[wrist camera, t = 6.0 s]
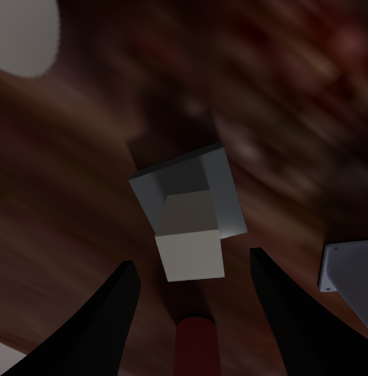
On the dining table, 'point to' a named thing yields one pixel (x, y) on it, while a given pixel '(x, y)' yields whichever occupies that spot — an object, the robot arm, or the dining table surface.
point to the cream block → (189, 237)
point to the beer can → (196, 348)
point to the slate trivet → (192, 186)
